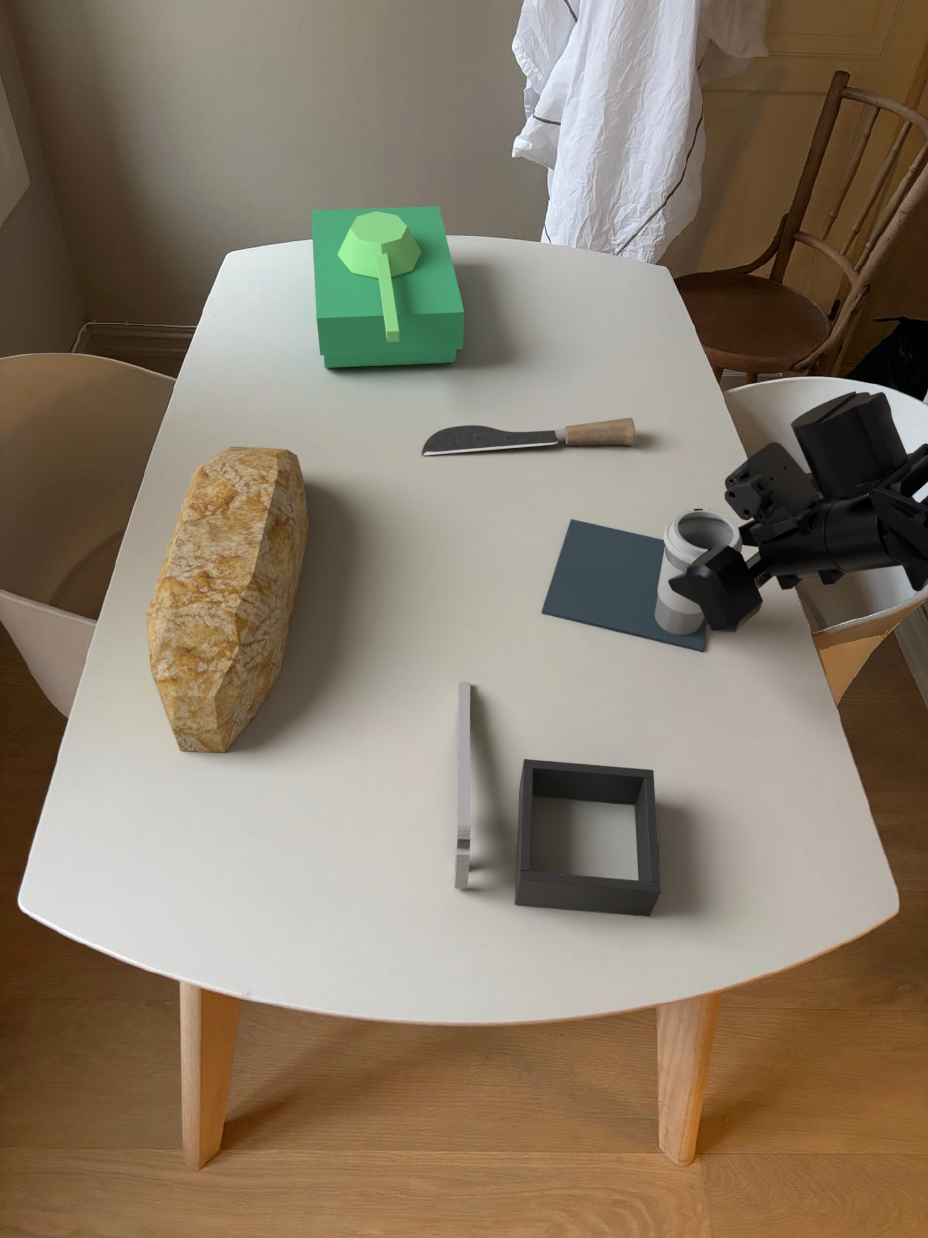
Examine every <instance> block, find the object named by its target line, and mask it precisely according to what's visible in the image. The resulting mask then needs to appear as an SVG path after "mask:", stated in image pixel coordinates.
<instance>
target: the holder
mask: <svg viewBox="0 0 928 1238" xmlns="http://www.w3.org/2000/svg"><path fill="white" fill-rule="evenodd" d="M654 772H655V771H654V769H647V768H634V767H624V766H623V767H622V766H611V765H599V764H588V763H575V762H564V761H555V760H554V761H553V760H542V759H528V758H524V759H523V761H522V768H521V776H520V781H519V788H518V810H517V811H518V813H517V832H516V833H517V834H516V836H517V837H516V856H515V857H516V859H515V860H516V861H515V884H514V905H515V906H524V907H534V908H547V909H556V910H557V909H558V910H570V911H579V912H580V911H581V912H591V913H604V914H613V915H614V914H615V915H625V916H637V917H651V916H652V914H653V912H654V909H655V908H656V906H657V905H656V904H657V903H658V901H659V898H660V895H661V893H662V883H661V882H662V879H661V864H660V863H661V862H660V851H659V850H660V849H659V848H660V847H659V836H658V820H657V806H656V805H657V804H656V791H655V789H656V788H655V773H654ZM533 797H534V798H535V797H537V798H549V799H559V800H560V799H561V800H570V801H583V802H595V803H596V802H597V803H605V804H617V805H618V804H619V805H628V806H629V805H630V806H634V823H635V839H636V840H635V841H636V854H637V855H636V859H637V860H636V861H637V877H638V878H637V879H625V878H624V879H623V878H615V877H614V878H613V877H603V876H602V877H601V876H592V875H591V876H590V875H580V874H579V875H577V874H566V873H556V872H544V871H531V861H532V860H531V859H532V857H531V855H532V830H533V829H532V827H533V825H532V824H533V823H532V822H533Z"/></svg>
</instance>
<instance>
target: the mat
mask: <svg viewBox="0 0 928 1238" xmlns="http://www.w3.org/2000/svg"><path fill="white" fill-rule="evenodd" d="M665 546H666V545H665V543H664V539H662V538H657V537H653V536H650V535H649V536H648V535H644V534H639V533H635V532H631V531H627V530H623V529H617V528H613V527H608V526H604V525H599V524H596V523H591V522H587V521H581V520H577V519H573V518H570V520H569V524H568V527H567V530H566V533H565V537H564V540H563V543H562V546H561V550H560V552H559V556H558V558H557V562H556V565H555V568H554V571H553V574H552V578H551V580H550V584H549V587H548V590H547V593H546V597H545V599H544V601H543V606H542V608H541V614H544V615H548V616H551V617H556V618H560V619H564V620H568V621H573V622H576V623H581V624H585V625H588V626H593V627H598V628H601V629H605V630H609V631H614V632H618V633H623V634H625V635H630V636H635V637H639V638H643V639H647V640H652V641H656V642H659V643H663V644H666V645H667V644H668V645H672V646H676V647H681V648H684V649H688V650H692V651H697V652H701V653H702V652H703V651H704V646H705V639H706V633H707V626H708V623H707V621H706V618H705V617H704V619H703V621H702V623H701V625H700V627H699V629H698V630H697V631H695V632H694V633H691V634H688V635H677V634H673V633H670V632H668V631H666V630H664V629H663V628H662V627H661V626H660V625H659V624H658V623H657V621H656V619H655V609H656V603H657V598H658V584H659V578H660V572H661V567H662V561H663V555H664V550H665Z"/></svg>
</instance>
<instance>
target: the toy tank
mask: <svg viewBox="0 0 928 1238" xmlns="http://www.w3.org/2000/svg"><path fill="white" fill-rule="evenodd" d="M310 216H311V235H312V236H311V237H312V250H313V251H312V253H313V254H312V255H313V273H314V274H313V275H314V292H315V293H314V294H315V314H316V325H317V326H316V327H317V337H318V346H319V348H318V349H319V356H323V363H324V365H323V367H324V369H328V368H329V369H330V368H333V369H334V368H353V367H355V368H356V367H378V366H380V367H381V366H382V367H383V366H403V365H426V364H427V365H429V364H450V363H451V364H452V363H455V361H456V358H457V350H464V337H465V336H464V335H465V334H464V333H465V309H464V305H463V300H462V296H461V292H460V288H459V284H458V280H457V275H456V270H455V267H454V264H453V259H452V255H451V251H450V246H449V243H448V238H447V235H446V230H445V225H444V221H443V218H442V217H443V216H442V213H441V209H440V206H417V207H416V206H411V207H409V206H408V207H377V208H376V207H375V208H341V209H339V208H337V209H311V210H310Z"/></svg>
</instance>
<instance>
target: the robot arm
mask: <svg viewBox="0 0 928 1238" xmlns="http://www.w3.org/2000/svg"><path fill="white" fill-rule="evenodd" d="M790 427H791V429H792V431H793V434H794V436H795V439H796V441H797V443H798V446H799V448H800V450H801V453H802V455H803V457H804V459H805V461H806V464H807V466H808V468H809V470H810V472H807V473H806V471H805V470H804V469H803V468H802V467H801V466H800V464H799V463H798V462H797V461H796V460H795V459H794V457H793V456H792V455H791V454H790V453H789V451H788V449H786V448H785V447H784V445H782V444H781V443H779V442H777V441H771V442H769V443H768V444H766V445H765V446H763V447H762V448H760V449H759V450H758V451H756V452H755V453H754V454H752V455H751V456H750V457H749V458H748V459H746V460H745V461H744V462H742V464H740V466H738V467H737V468H736V469H734V471H732V472H731V473H730V474H728V476H726V478H725V479H724V486H725V489H726V490H725V492H724V494H723V495H724V501H725V502H726V503H727V504H728V505H729V507H730V508H731V509H732V510H733V512H734V513H735V514H736V515H737V516H738V517H739V519H740V520H743V521H747V522H746V523H744V524H742V525H739V526H737V527H738V529H739V533H740V535H741V539H742V546H746V547H754V548H758V551H757V552H755V553H754V554H753V555H752V556H751V557H749V558H748V559H747V560H745V558H744V556H743V553H742V552H741V553H740V552H738V551H737V550H735V549H734V548H732V547H730V546H729V545H727V546H721V547H718V548H715V549H713V550H711V548H710V549H709V550H707V551H706V552H705V553H704V554H702V555H701V556H700V557H698V558H697V559H696V560H695V561H693V562H692V564H691V565H690V566H688V567H687V571H686V572H685V573H683V574H680V575H678V576H675V577H673V578H671V579H669V580H668V583H669V585H670V587H671V589H672V591H674V592H676V593H677V594H679V595H681V596H683V597H685V598H687V599H689V600H690V601H692V602H694V603H696V604H698V605H699V606H700V608H701V610H702V612H703V614H704V616H705V618H706V621H707V626H708V627H709V629H710V631H711V632H713V633H715V634H728V633H729V634H730V633H736V632H737V631H739V630H740V628H742V627H743V626H744V625H745V624H747V622H749V621H750V620H751V619H752V618H753V617H754V616H755V615H756V614H758V613H759V612H760V610H761V607H762V605H763V603H764V599H763V597H762V595H761V592H760V589H761V588H762V587H763V586H764V585H765V584H767V583H768V582H769V581H770V580H771V579H772V578H774V577H775V579H776V580H777V582H778V585H779V587H780V589H781V591H787V590H792V589H794V588H795V587H796V586H797V585H799V583H800V582H801V581H803V579H810V578H818V577H819V578H820V580H821V583H822V585H823V586H827V585H828V586H829V585H834V584H836V583H837V582H838V581H839V580H840V579H841V578H843V577H844V576H845V575H846V574H849V573H856V572H863V571H870V570H871V571H872V570H877V569H885V568H893V567H901V566H902V568H903V570H904V572H905V575H906V577H907V579H908V582H909V584H910V587H911V589H912V590H913V591H914V592H921V591H923V590H924V588H926V587H927V585H928V494H927V495H926V496H925V497H924V498H923V499H922V500H921V501H920V502H919V501H917V500H916V498H914V495H916V494H917V493H918V492H919V491H920V490H921V489H923V487H924V486H926V484H927V483H928V443H927V442H925V443H922V444H921V445H920V446H919V447H917V448H916V449H915V450H914V451H912V452H910V453H907V451H906V448H905V445H904V443H903V440H902V439H901V438H902V437H900V434H899V431H898V428H897V426H896V424H895V421H894V418H893V414H892V408H891V404H890V402H889V400H888V397H887V395H886V393H885V392H883V391H879V392H876V393H873V394H871V393H870V392H868V391H862V392H857V391H856V390H855V391H851V392H847V393H845V394H842V395H839V396H837V397H834V398H832V399H830V400H827V401H825V402H823V403H820V404H818V405H817V406H814V407H813V408H811V409H809V410H807V411H806V412H804V413H802V414H801V415H799V416H798V417H796V418H795V419H794V420H793V421H792V422H791V423H790Z"/></svg>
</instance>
